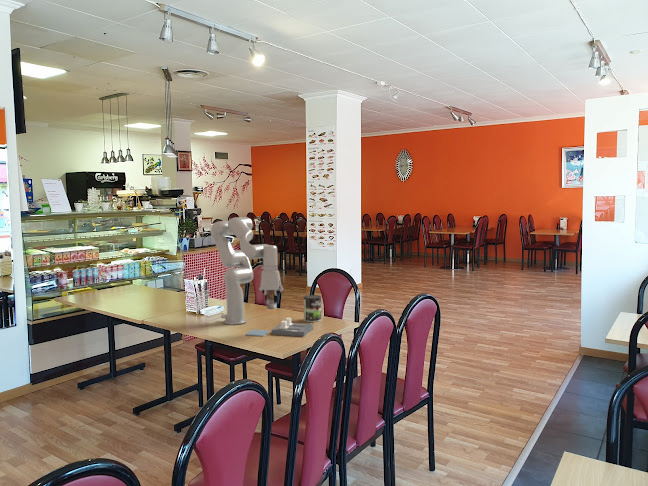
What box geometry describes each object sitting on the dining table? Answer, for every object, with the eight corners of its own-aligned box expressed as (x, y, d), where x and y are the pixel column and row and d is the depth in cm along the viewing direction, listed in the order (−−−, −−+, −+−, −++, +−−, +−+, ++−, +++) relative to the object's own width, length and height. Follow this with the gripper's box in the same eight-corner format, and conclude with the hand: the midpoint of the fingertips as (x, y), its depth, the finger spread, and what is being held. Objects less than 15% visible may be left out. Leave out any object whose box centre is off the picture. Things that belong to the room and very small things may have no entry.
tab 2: (283, 325, 277) (283, 319, 276) (286, 323, 281) (286, 317, 281) (290, 326, 276) (290, 319, 275) (293, 324, 280) (293, 317, 279)
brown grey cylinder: (266, 308, 271) (266, 290, 270) (269, 307, 275) (269, 289, 274) (273, 309, 270) (273, 290, 269) (276, 307, 274) (276, 289, 273)
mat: (245, 335, 268) (245, 334, 268) (252, 330, 278) (252, 329, 278) (262, 336, 265) (262, 335, 265) (269, 331, 275) (269, 330, 275)
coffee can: (324, 320, 299) (324, 296, 297) (310, 323, 293) (310, 299, 291) (314, 317, 307) (314, 294, 306) (300, 319, 301) (300, 296, 300)
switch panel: (271, 334, 269) (271, 329, 269) (282, 326, 285) (282, 322, 285) (304, 336, 265) (304, 331, 264) (312, 328, 280) (312, 324, 280)
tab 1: (279, 328, 270) (278, 322, 270) (281, 326, 274) (281, 320, 274) (286, 329, 269) (286, 322, 269) (288, 327, 273) (288, 320, 273)
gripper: (253, 269, 269) (254, 303, 271) (283, 269, 265) (283, 304, 266) (258, 267, 276) (259, 300, 278) (287, 267, 272) (288, 301, 273)
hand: (271, 302), depth 272 cm, fingers closed on brown grey cylinder, 4 cm apart
